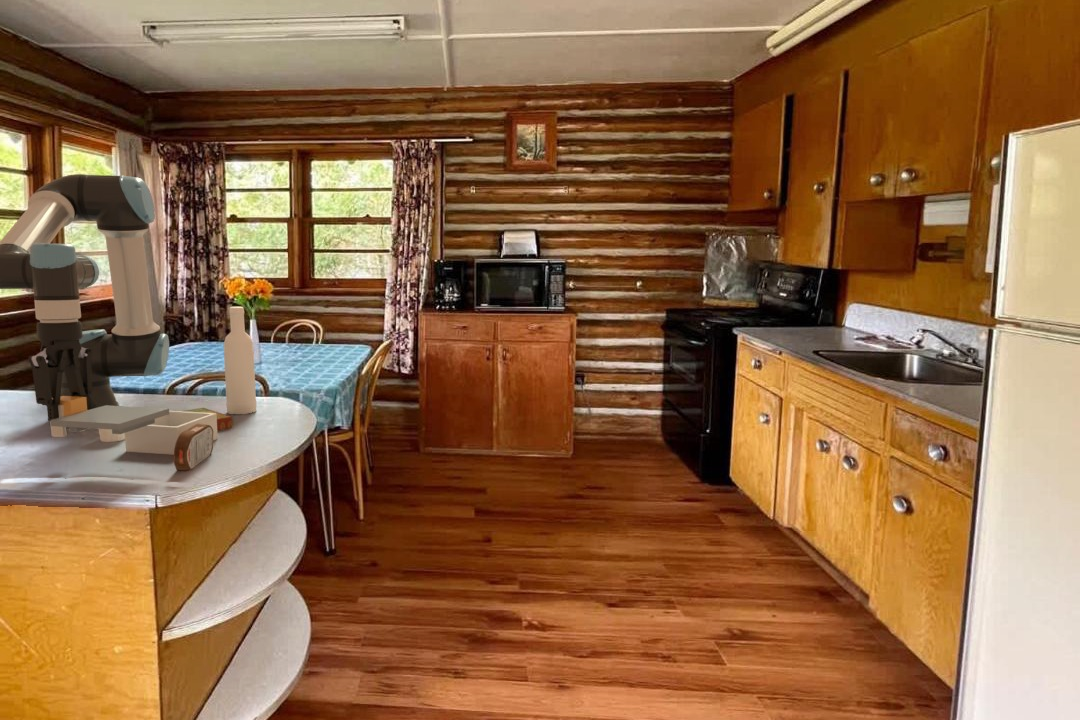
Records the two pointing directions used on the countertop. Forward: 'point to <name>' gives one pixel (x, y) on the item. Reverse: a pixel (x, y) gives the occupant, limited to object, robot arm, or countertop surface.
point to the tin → (193, 446)
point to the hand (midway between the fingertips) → (68, 433)
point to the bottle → (239, 366)
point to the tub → (166, 432)
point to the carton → (222, 419)
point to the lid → (105, 416)
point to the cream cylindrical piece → (110, 436)
